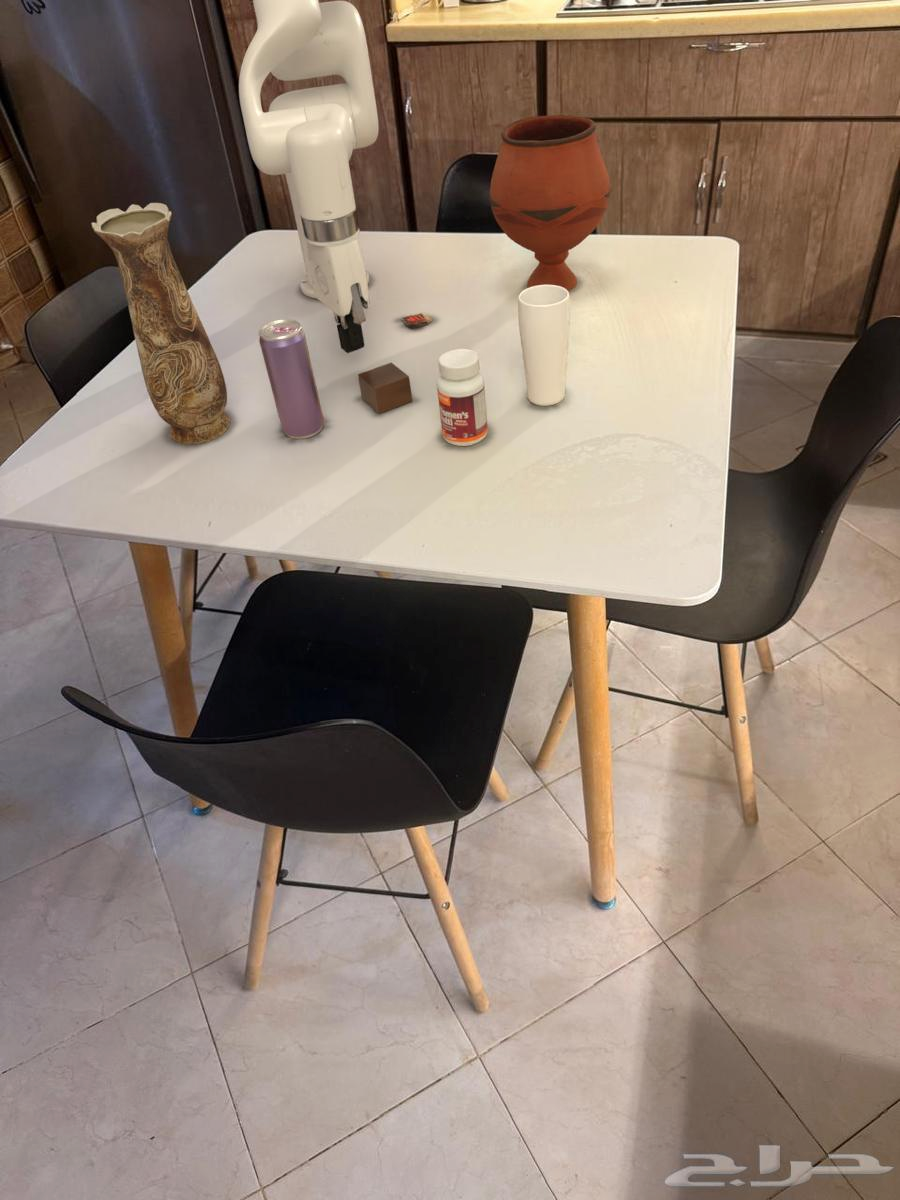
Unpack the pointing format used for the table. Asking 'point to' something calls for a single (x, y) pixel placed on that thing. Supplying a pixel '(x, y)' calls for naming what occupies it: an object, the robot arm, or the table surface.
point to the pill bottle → (461, 398)
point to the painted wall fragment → (416, 320)
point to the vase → (166, 325)
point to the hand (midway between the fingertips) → (353, 348)
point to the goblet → (550, 190)
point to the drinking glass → (544, 341)
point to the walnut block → (385, 388)
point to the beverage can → (291, 378)
